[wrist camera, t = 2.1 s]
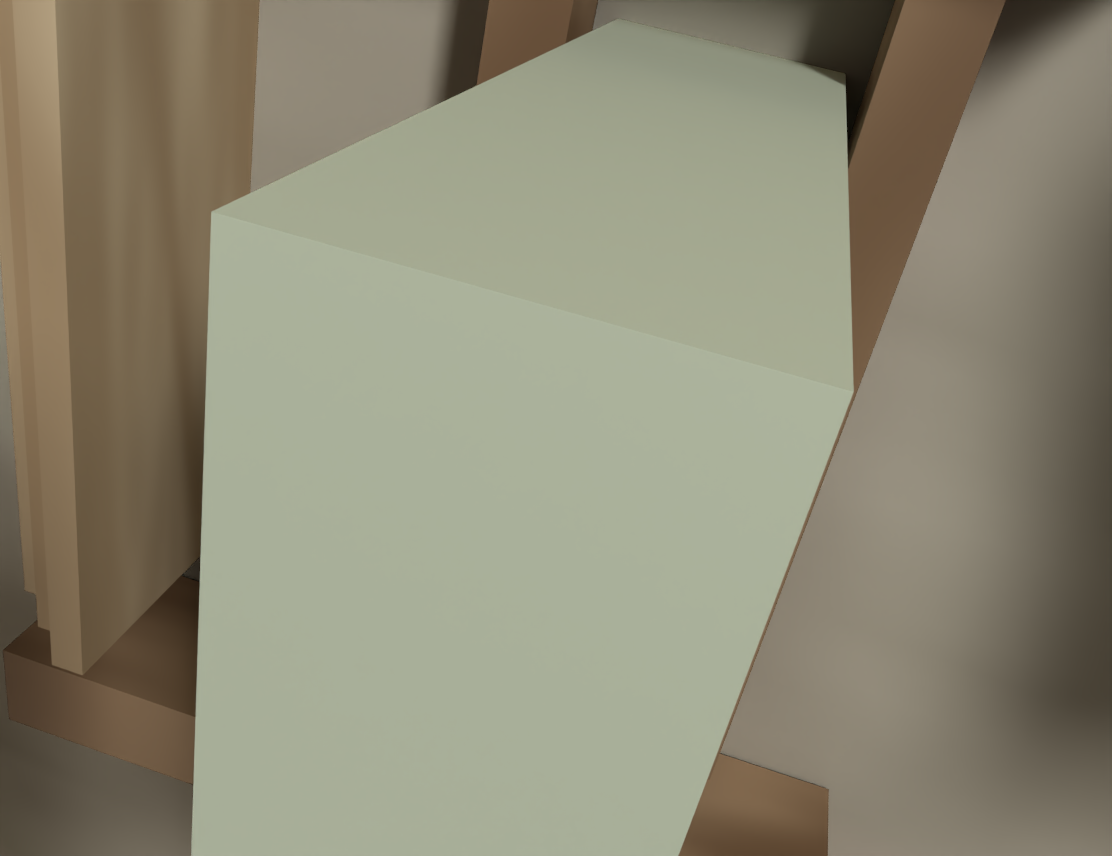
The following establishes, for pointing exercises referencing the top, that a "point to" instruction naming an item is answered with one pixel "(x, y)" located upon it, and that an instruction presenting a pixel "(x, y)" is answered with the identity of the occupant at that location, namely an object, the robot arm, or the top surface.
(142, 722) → the walnut rack
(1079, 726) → the top surface
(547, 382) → the pale green block
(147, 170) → the offcut bundle
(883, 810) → the top surface
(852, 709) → the top surface
